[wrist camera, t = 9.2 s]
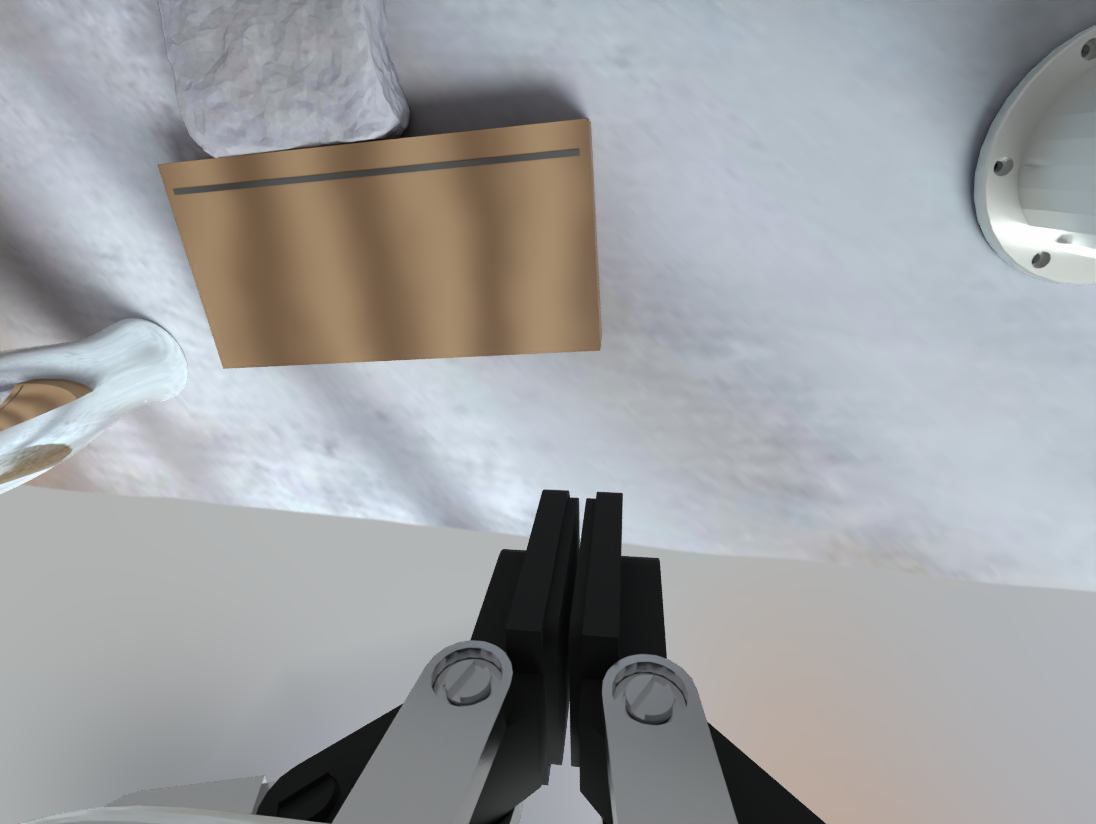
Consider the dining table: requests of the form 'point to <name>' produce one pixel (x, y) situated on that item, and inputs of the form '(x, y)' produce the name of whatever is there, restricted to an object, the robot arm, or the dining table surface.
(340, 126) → the stone block
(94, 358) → the beer glass
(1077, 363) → the dining table surface
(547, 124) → the brown wooden board
